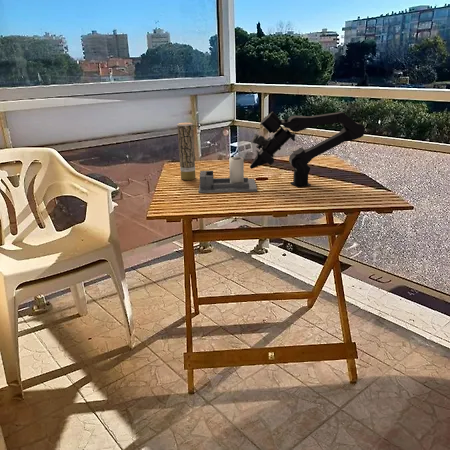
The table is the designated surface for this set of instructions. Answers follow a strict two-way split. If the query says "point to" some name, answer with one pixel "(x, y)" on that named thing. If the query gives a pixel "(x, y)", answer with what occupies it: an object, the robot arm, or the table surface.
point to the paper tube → (186, 150)
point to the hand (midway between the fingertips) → (250, 167)
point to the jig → (223, 184)
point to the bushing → (236, 169)
